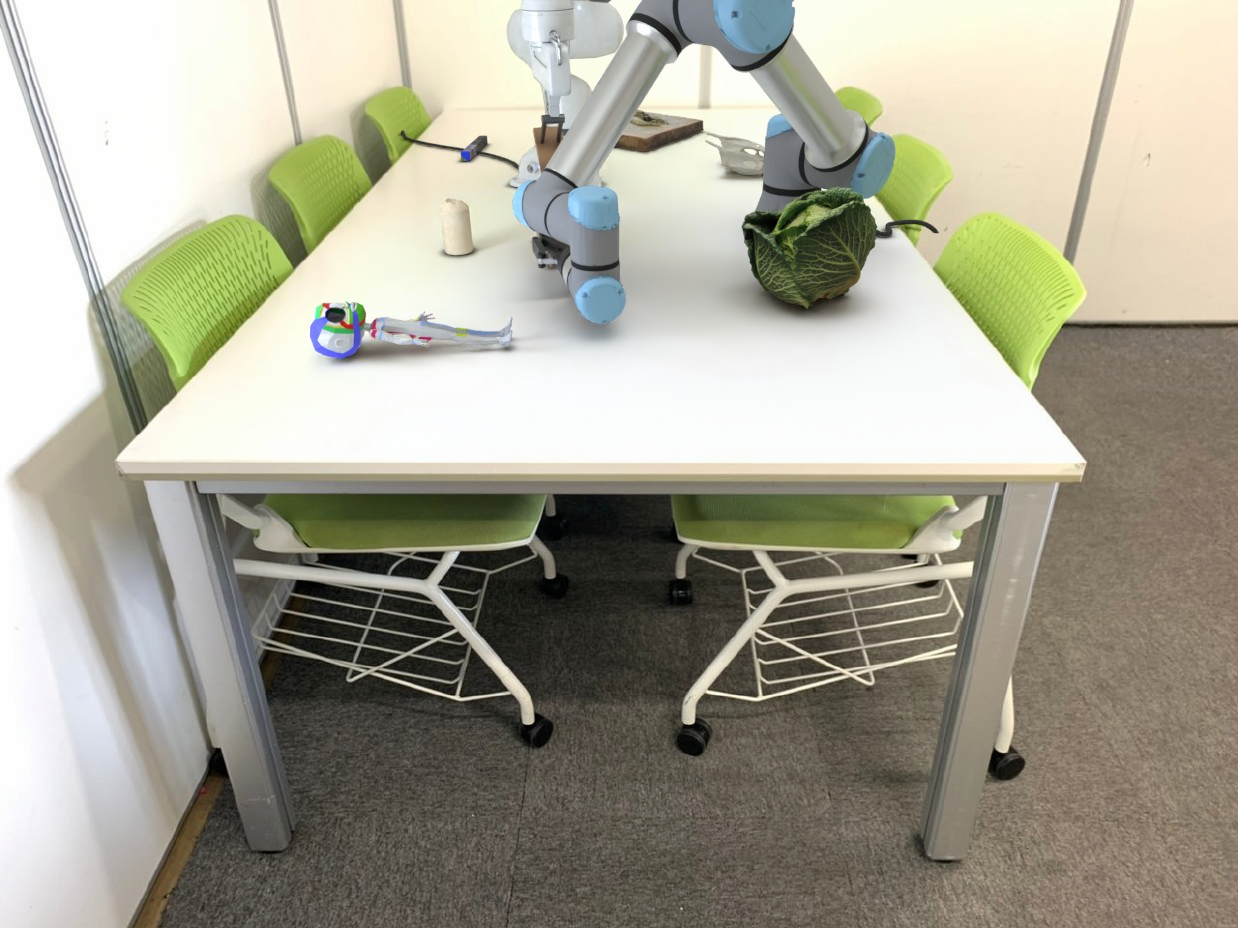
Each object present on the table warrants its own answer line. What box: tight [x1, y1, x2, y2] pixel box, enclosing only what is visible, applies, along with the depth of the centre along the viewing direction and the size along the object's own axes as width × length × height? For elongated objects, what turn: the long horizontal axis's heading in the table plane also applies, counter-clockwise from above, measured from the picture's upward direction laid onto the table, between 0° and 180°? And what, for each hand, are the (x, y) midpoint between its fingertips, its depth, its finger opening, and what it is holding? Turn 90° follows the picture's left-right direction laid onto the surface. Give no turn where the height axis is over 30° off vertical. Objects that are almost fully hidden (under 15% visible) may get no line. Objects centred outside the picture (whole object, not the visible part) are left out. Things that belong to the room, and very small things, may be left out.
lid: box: [532, 114, 565, 174], centre depth 160 cm, size 17×5×9 cm
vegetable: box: [741, 187, 878, 310], centre depth 148 cm, size 20×19×20 cm
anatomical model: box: [705, 131, 765, 176], centre depth 220 cm, size 15×9×25 cm
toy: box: [307, 300, 513, 360], centre depth 136 cm, size 10×8×30 cm
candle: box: [439, 198, 474, 256], centre depth 173 cm, size 6×6×10 cm
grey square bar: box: [460, 135, 489, 162], centre depth 244 cm, size 2×2×20 cm
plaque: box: [614, 109, 705, 152], centre depth 257 cm, size 30×7×30 cm
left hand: (552, 115), depth 158 cm, fingers closed
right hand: (559, 228), depth 168 cm, fingers closed on chest, 5 cm apart
